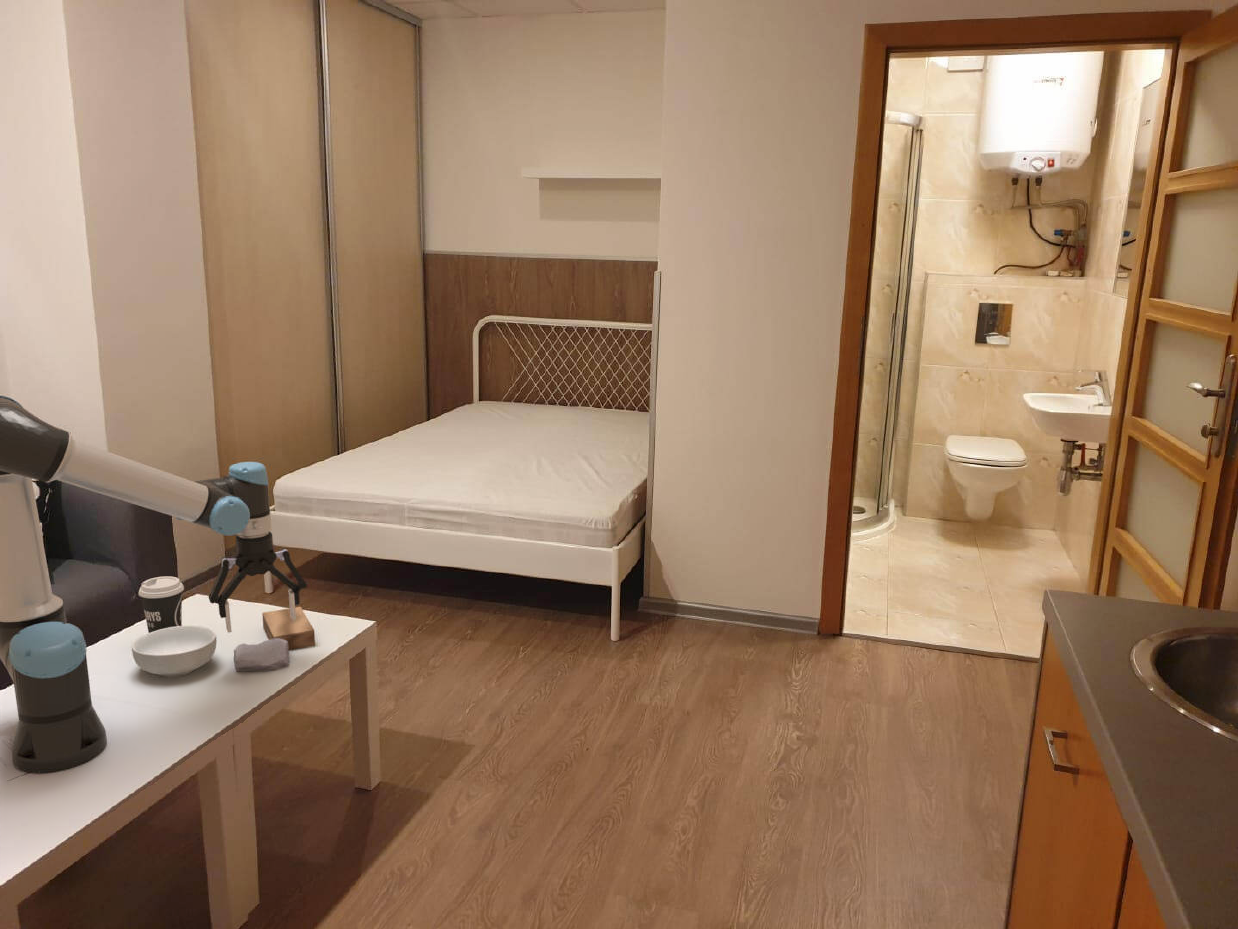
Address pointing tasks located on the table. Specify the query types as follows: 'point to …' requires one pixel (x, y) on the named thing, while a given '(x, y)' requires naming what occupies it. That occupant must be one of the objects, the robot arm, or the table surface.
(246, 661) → the stone block
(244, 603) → the table surface
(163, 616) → the coffee cup
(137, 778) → the table surface
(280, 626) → the walnut plinth
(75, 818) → the table surface
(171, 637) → the cereal bowl
